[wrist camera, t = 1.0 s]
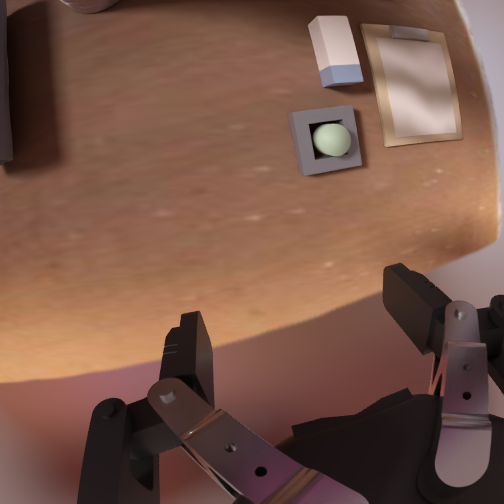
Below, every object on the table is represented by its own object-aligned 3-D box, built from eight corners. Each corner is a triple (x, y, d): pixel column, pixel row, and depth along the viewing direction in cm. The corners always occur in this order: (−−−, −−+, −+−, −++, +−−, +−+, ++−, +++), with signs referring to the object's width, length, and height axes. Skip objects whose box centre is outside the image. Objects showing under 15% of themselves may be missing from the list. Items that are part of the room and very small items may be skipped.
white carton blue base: (307, 25, 27) (317, 16, 23) (335, 24, 27) (346, 15, 23) (323, 87, 30) (334, 83, 27) (350, 84, 30) (363, 81, 27)
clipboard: (359, 24, 27) (364, 21, 25) (441, 33, 27) (447, 32, 26) (384, 146, 33) (390, 147, 32) (460, 138, 33) (466, 139, 32)
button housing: (287, 113, 31) (292, 112, 29) (345, 105, 31) (352, 104, 29) (299, 173, 33) (304, 176, 32) (354, 163, 34) (361, 165, 32)
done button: (309, 126, 30) (317, 126, 28) (338, 122, 30) (348, 122, 28) (315, 156, 31) (323, 158, 29) (343, 151, 32) (353, 153, 29)
